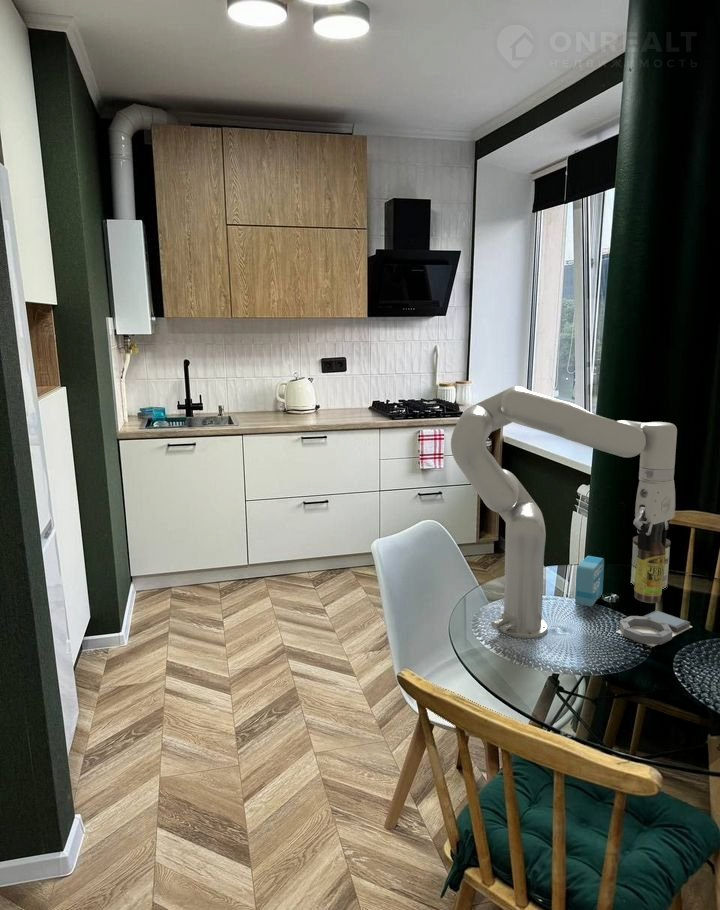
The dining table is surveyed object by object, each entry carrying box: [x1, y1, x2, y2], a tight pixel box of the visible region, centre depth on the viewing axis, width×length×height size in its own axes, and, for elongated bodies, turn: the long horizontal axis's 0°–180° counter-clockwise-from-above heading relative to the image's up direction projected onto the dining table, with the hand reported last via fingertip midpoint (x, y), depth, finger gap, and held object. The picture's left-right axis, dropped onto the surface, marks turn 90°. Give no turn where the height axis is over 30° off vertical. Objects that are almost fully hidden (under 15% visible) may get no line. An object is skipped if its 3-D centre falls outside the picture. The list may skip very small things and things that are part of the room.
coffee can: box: [630, 535, 672, 590], centre depth 193 cm, size 10×10×14 cm
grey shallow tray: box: [615, 615, 693, 648], centre depth 163 cm, size 19×11×3 cm, turn 125°
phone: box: [643, 609, 691, 633], centre depth 166 cm, size 6×9×1 cm, turn 35°
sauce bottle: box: [633, 519, 666, 604], centre depth 157 cm, size 6×6×20 cm
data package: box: [574, 555, 605, 608], centre depth 182 cm, size 12×4×12 cm, turn 146°
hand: (651, 546), depth 156 cm, fingers closed on sauce bottle, 5 cm apart
